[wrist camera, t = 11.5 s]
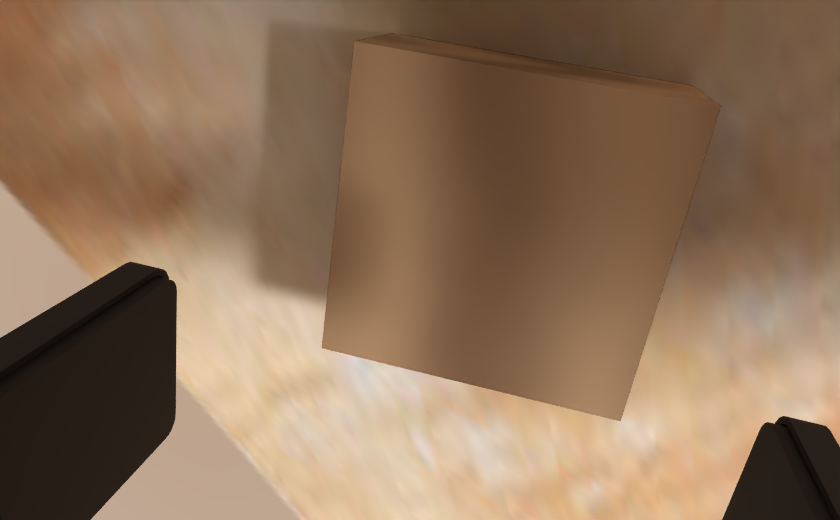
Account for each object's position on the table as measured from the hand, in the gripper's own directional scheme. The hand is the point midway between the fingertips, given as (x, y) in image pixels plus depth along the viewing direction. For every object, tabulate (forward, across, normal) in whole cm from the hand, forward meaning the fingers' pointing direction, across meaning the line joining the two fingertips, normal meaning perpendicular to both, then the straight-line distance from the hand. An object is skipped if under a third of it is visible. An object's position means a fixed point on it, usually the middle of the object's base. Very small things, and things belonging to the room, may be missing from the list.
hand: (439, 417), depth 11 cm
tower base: (+12, 0, 0) cm, 12 cm away
